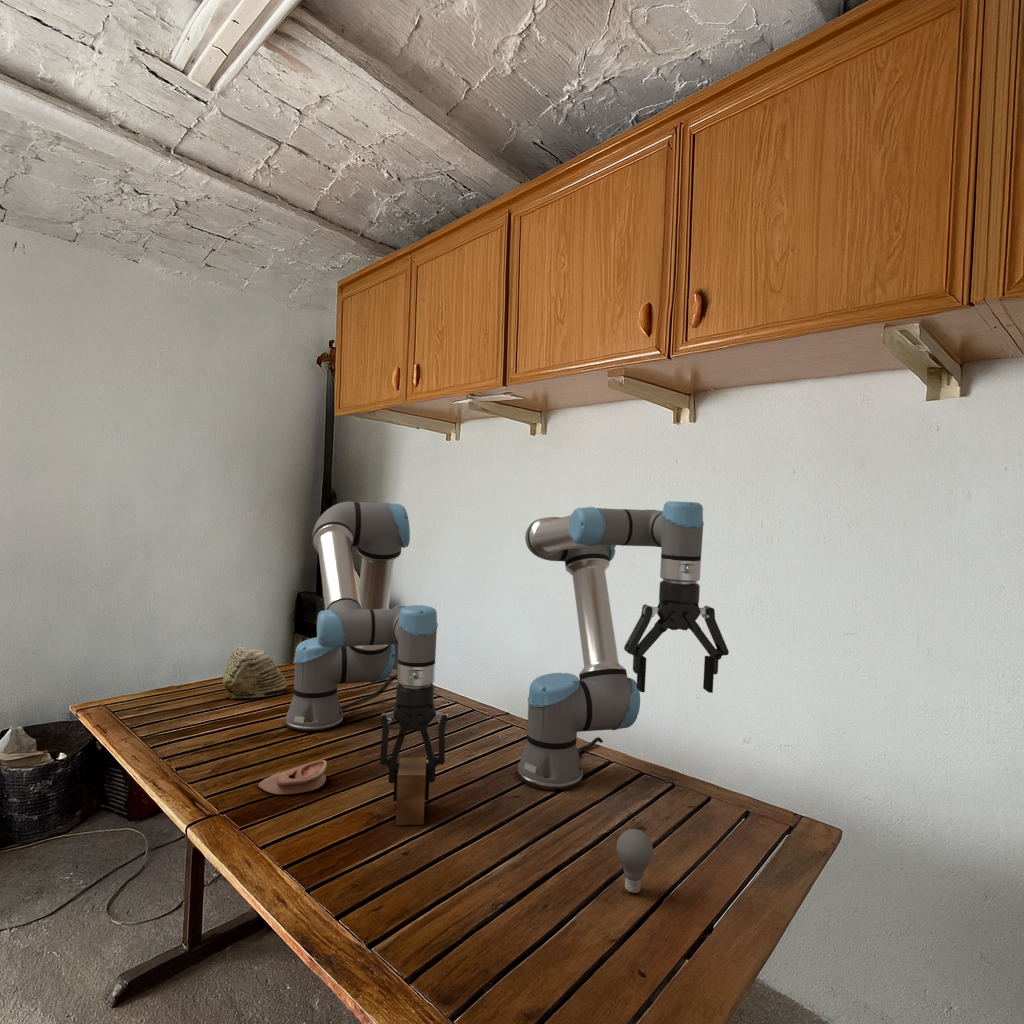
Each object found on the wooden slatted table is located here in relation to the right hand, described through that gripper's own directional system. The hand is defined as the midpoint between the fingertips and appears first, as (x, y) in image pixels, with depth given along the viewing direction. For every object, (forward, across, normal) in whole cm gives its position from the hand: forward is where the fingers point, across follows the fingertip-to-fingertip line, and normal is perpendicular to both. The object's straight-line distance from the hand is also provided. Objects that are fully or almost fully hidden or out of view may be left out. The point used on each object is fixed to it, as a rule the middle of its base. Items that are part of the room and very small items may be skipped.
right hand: (674, 690), depth 123 cm
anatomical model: (+29, -76, +25) cm, 85 cm away
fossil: (+29, -101, +88) cm, 137 cm away
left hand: (+25, -50, +11) cm, 57 cm away
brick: (+29, -50, +11) cm, 59 cm away
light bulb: (+29, -12, -16) cm, 35 cm away
